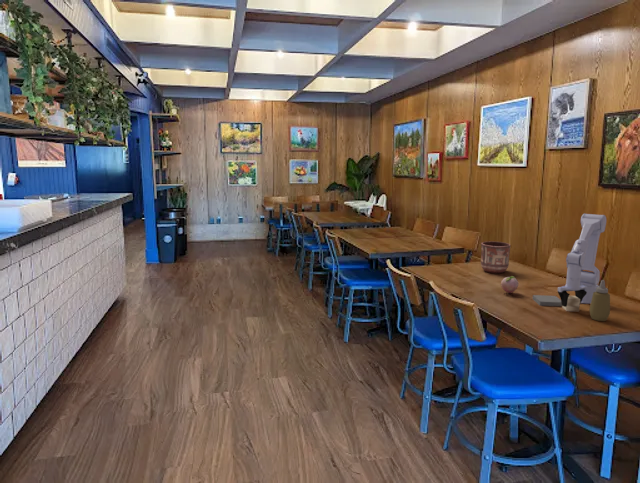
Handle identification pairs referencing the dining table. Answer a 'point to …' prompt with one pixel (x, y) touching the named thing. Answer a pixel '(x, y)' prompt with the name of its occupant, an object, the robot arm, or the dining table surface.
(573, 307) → the birch cube
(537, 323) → the dining table surface
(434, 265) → the dining table surface
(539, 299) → the charcoal base
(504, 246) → the pottery
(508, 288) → the decorative fruit
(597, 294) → the squeeze bottle
